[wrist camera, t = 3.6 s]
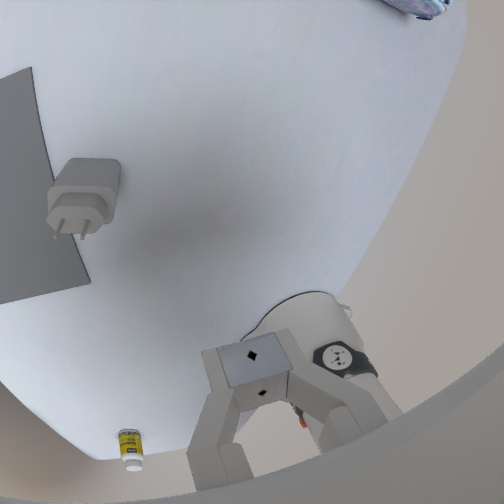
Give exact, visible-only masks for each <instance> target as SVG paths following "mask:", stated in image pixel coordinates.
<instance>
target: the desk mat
mask: <svg viewBox="0 0 504 504" xmlns="http://www.w3.org/2000/svg"><path fill="white" fill-rule="evenodd" d="M54 181H55V180H54V176H53V172H52V169H51V165H50V161H49V157H48V153H47V149H46V145H45V141H44V136H43V132H42V127H41V122H40V117H39V112H38V107H37V101H36V95H35V89H34V82H33V75H32V67H28V68H26V69H23V70H21V71H18V72H16V73H14V74H11V75H9V76H7V77H5V78H2V79H0V304H4V303H8V302H13V301H17V300H21V299H25V298H30V297H34V296H38V295H43V294H47V293H51V292H56V291H60V290H64V289H69V288H73V287H77V286H82V285H86V284H90V283H91V281H90V278H89V276H88V274H87V271H86V269H85V266H84V264H83V261H82V259H81V256H80V254H79V251H78V249H77V246H76V243H75V241H74V238H73V235H72V233H59V235H58V238H57V239H54V235H55V232H56V231H55V230H54V229H53V228H52V227H51V226H50V225H49V224H48V223H47V221H46V218H47V216H48V200H47V193H48V191H49V189H50V187H51V186H52V184H53V183H54Z"/></svg>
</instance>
